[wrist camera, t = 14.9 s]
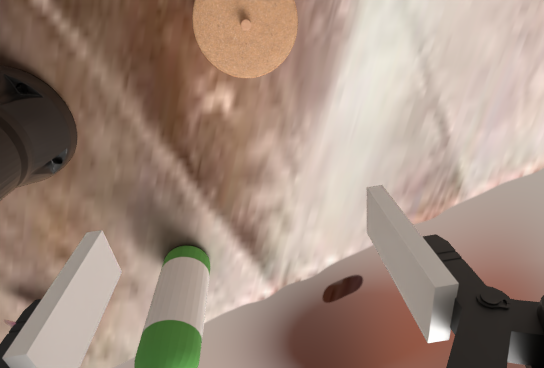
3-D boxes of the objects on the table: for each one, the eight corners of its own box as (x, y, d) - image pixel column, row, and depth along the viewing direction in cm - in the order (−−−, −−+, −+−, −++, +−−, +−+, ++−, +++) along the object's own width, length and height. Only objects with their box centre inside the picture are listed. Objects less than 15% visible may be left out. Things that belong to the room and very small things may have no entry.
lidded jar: (201, -39, 38) (190, -51, 30) (295, -24, 39) (309, -31, 31) (198, 61, 43) (188, 75, 34) (282, 71, 44) (291, 87, 36)
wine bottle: (220, 258, 58) (203, 471, 31) (192, 284, 60) (155, 503, 34) (182, 234, 55) (129, 447, 29) (155, 263, 57) (82, 485, 31)
